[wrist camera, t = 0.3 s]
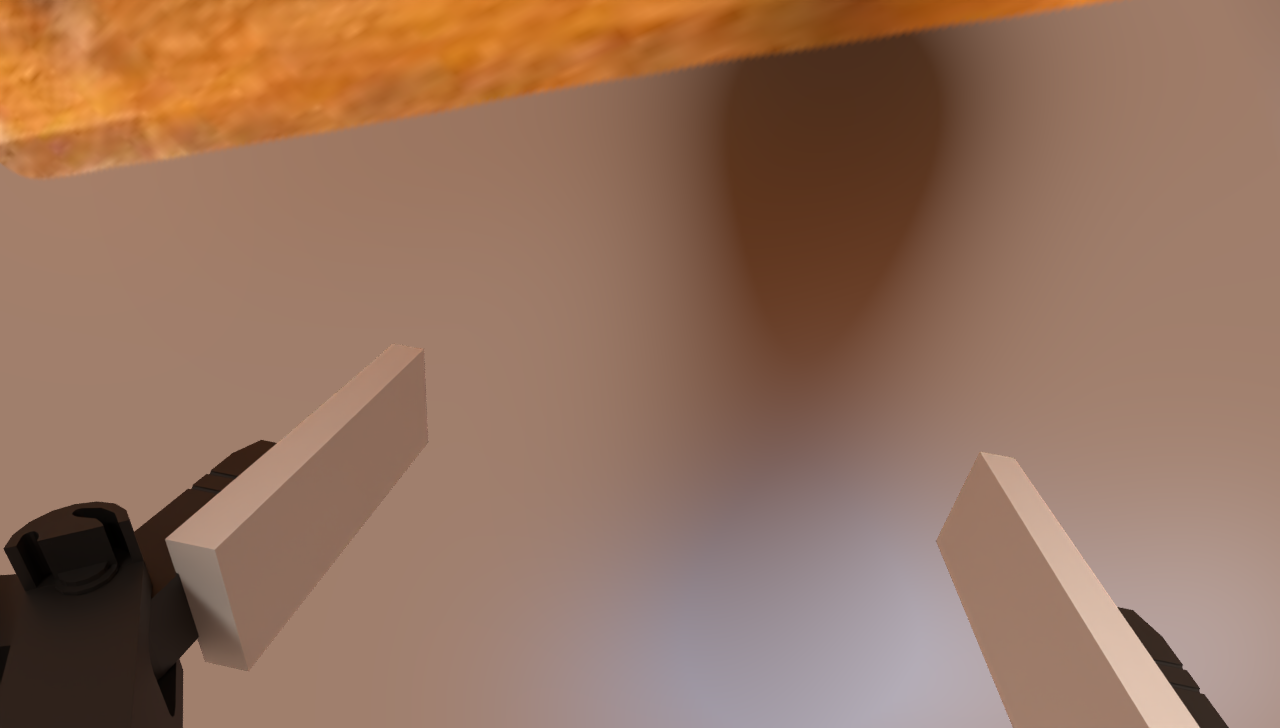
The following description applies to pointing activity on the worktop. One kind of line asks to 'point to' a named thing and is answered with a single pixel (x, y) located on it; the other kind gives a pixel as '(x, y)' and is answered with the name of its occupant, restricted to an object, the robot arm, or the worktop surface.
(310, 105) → the worktop surface
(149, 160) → the worktop surface
